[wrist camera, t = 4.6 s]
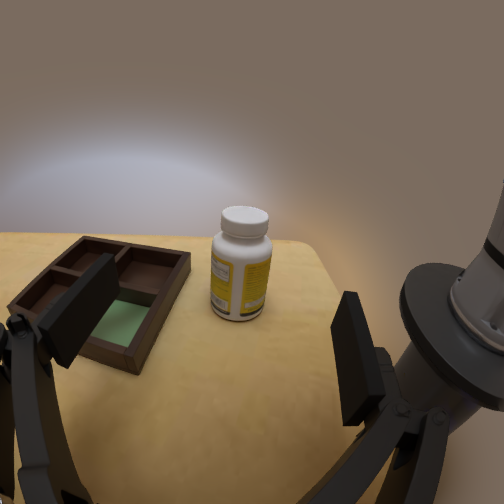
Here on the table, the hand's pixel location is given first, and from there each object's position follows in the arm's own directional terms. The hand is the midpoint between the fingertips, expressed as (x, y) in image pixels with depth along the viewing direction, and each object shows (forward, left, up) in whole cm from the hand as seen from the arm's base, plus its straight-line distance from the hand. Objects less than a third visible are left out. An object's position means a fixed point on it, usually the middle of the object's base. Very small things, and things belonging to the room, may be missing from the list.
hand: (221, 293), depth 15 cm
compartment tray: (+14, -7, -9) cm, 18 cm away
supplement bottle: (0, -10, -9) cm, 13 cm away
